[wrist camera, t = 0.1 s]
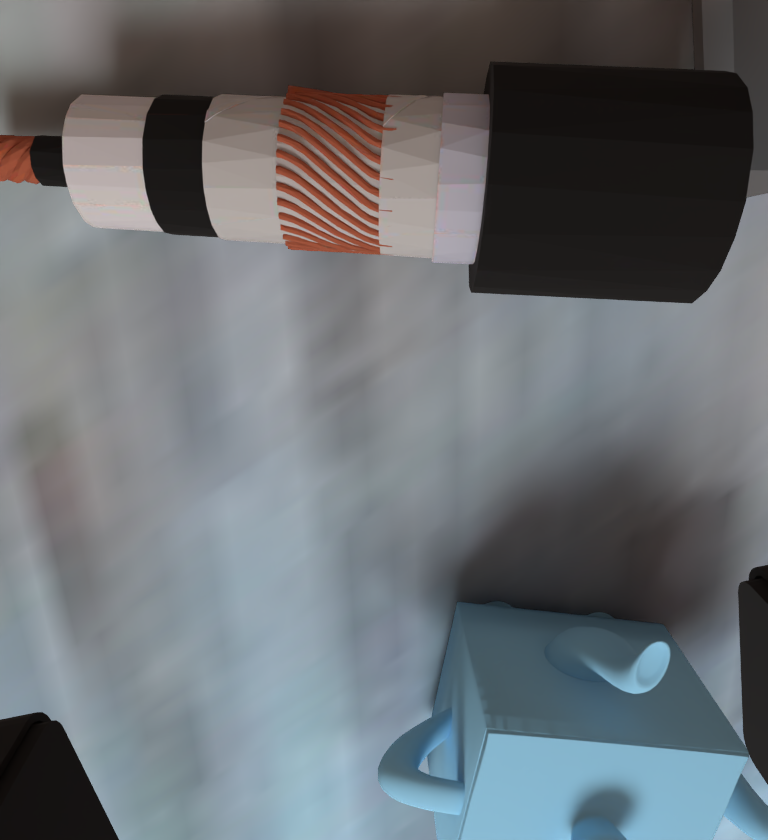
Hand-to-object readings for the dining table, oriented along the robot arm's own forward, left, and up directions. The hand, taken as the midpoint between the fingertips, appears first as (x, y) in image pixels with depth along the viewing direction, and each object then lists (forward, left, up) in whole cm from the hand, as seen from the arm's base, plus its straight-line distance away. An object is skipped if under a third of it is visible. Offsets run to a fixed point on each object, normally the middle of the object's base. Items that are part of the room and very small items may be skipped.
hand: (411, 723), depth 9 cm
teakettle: (+28, +7, -31) cm, 43 cm away
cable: (-7, 0, -32) cm, 32 cm away
